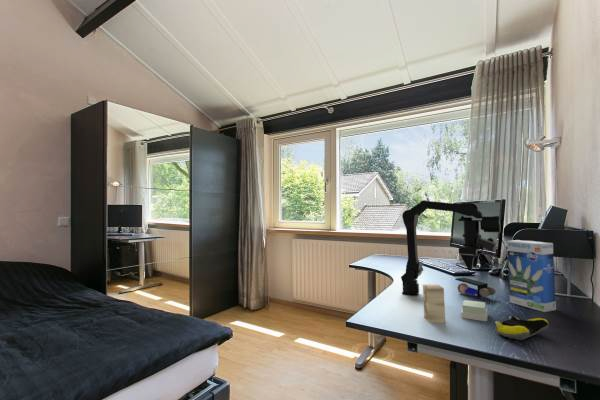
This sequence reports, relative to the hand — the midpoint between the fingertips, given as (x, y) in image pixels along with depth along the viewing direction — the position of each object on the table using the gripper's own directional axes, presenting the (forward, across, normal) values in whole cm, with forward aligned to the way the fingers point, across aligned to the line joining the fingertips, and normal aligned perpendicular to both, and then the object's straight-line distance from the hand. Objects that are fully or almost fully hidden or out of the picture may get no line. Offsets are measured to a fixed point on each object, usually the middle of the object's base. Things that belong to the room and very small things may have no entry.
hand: (472, 268), depth 123 cm
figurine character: (+14, +10, +1) cm, 17 cm away
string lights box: (+14, +8, -19) cm, 25 cm away
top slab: (+12, -17, -3) cm, 21 cm away
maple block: (+14, -30, +7) cm, 34 cm away
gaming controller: (+14, -28, -18) cm, 36 cm away
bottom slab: (+15, -17, -4) cm, 23 cm away
